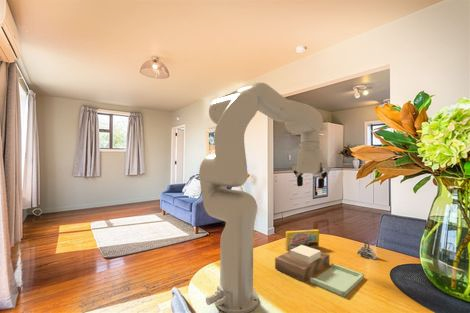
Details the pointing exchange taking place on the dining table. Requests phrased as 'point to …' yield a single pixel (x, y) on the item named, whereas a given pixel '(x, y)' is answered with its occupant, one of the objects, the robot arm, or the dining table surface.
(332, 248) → the dining table surface
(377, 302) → the dining table surface
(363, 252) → the house of cards
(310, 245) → the candy box
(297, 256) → the tile
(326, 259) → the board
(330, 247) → the dining table surface
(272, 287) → the dining table surface
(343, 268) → the tray
